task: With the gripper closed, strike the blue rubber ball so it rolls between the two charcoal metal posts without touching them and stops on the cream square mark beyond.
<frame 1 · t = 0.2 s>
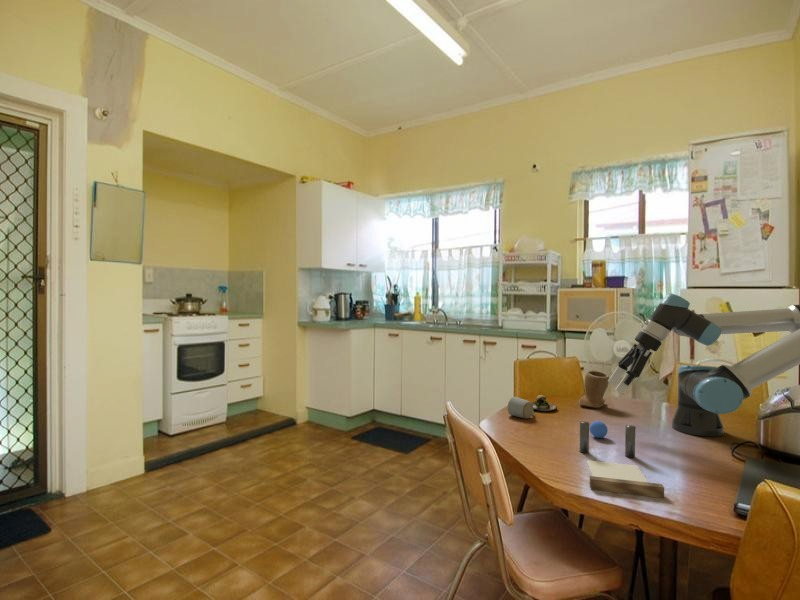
hand: (615, 387, 149), 16 cm above the table, tool tilted 30°, fingers open, 13 cm apart
ceramic mug: (522, 417, 171), on the table
right post: (630, 456, 128), on the table
plate of salad: (542, 410, 182), on the table
ball: (598, 429, 145), on the table
left post: (584, 452, 132), on the table
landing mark: (616, 472, 117), on the table
stone cup: (594, 406, 188), on the table
stopper wall: (625, 491, 105), on the table
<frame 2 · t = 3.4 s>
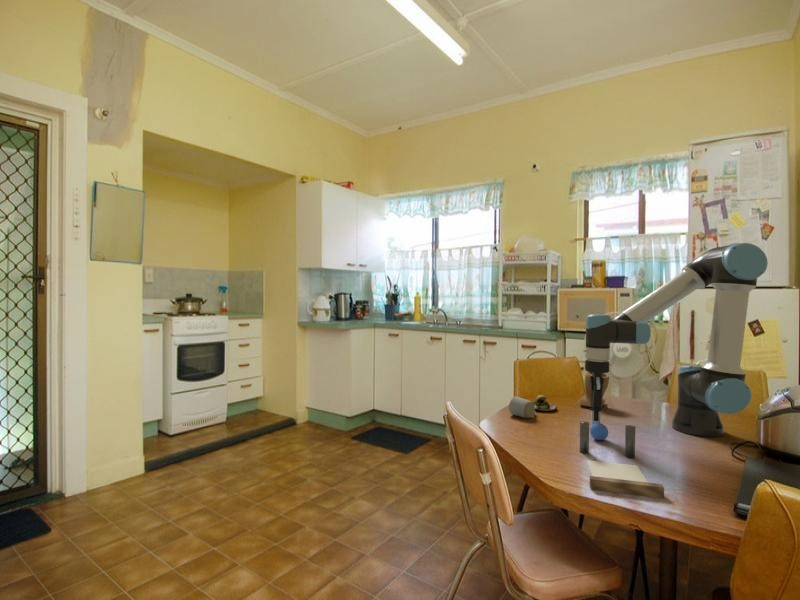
hand: (595, 429, 146), 2 cm above the table, tool pointing down, fingers closed
ball: (599, 431, 143), on the table, touching gripper
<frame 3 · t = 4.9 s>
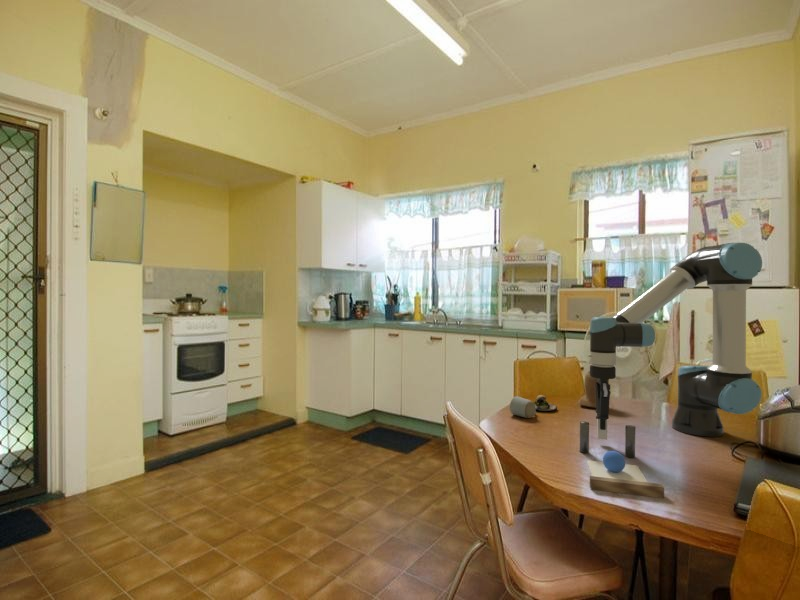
hand: (601, 438, 139), 2 cm above the table, tool pointing down, fingers closed
ball: (613, 461, 117), on the table
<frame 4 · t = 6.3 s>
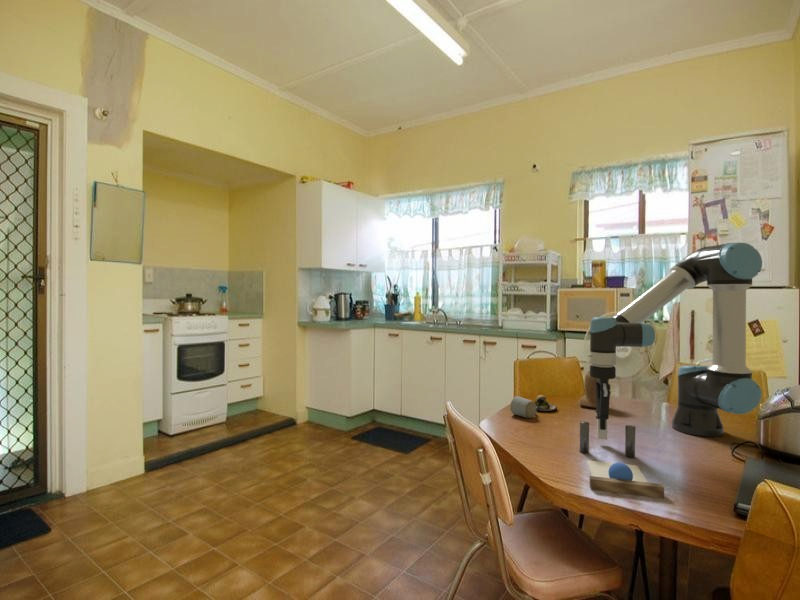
hand: (601, 438, 139), 2 cm above the table, tool pointing down, fingers closed
ball: (620, 474, 109), on the table
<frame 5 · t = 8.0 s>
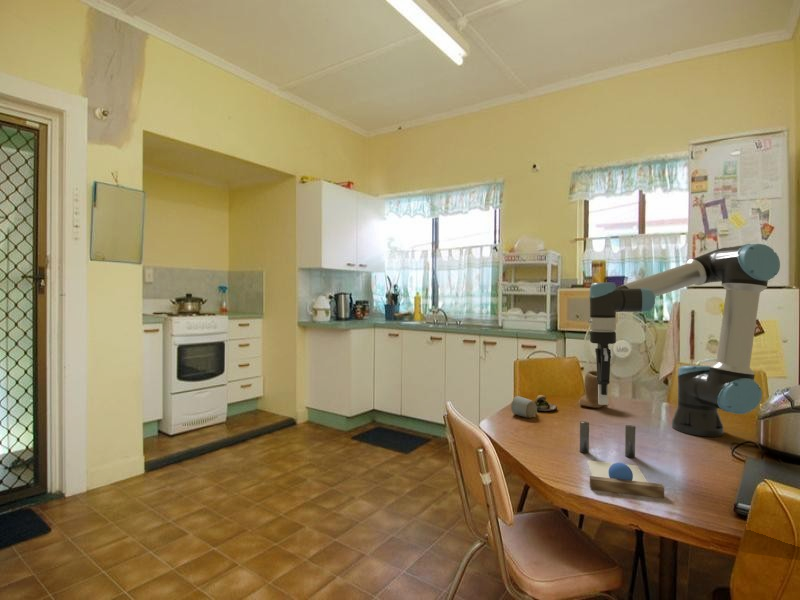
hand: (603, 404, 139), 13 cm above the table, tool pointing down, fingers closed
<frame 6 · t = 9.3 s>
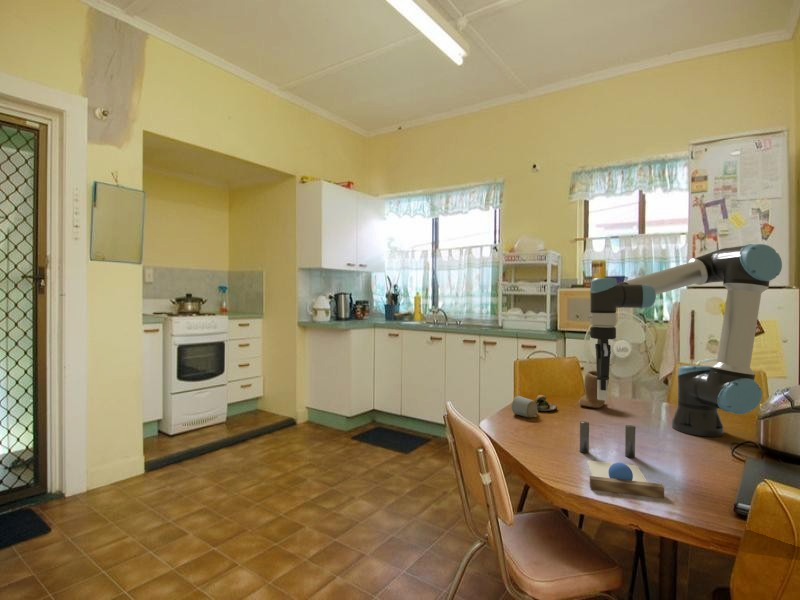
hand: (602, 399, 139), 14 cm above the table, tool pointing down, fingers closed
at the end: ball 8.3 cm from the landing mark (horizontally); ball never touched left post; ball never touched right post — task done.
